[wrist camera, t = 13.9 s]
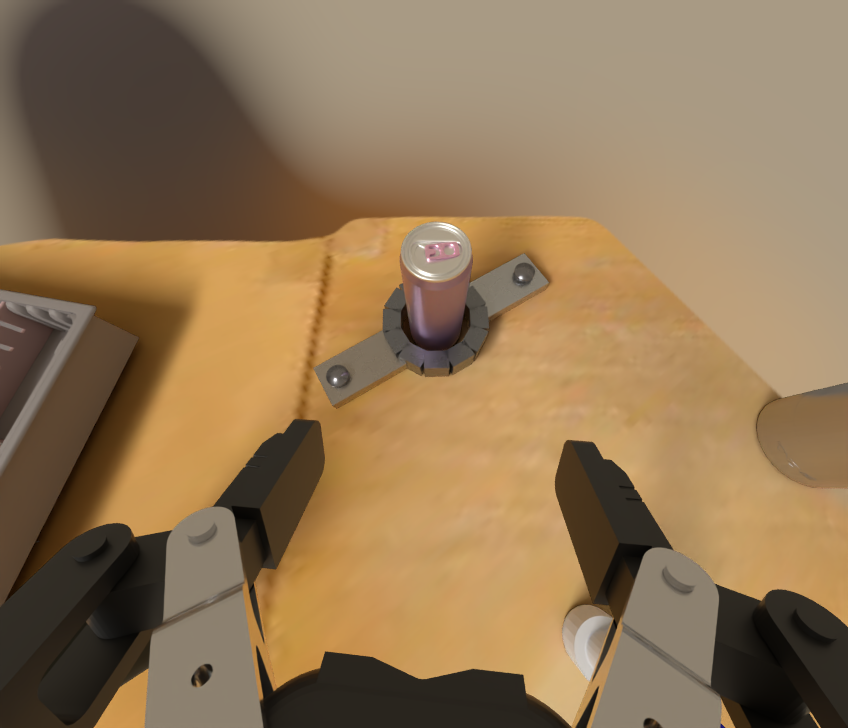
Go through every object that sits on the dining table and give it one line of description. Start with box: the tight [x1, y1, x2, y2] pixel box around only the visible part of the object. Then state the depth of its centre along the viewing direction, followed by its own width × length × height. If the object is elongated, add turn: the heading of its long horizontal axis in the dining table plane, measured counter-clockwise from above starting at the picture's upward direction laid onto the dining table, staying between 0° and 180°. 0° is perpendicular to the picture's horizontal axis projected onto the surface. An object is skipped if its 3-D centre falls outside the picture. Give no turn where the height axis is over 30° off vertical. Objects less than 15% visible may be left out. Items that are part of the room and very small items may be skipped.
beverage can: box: [400, 222, 473, 351], centre depth 34 cm, size 6×6×15 cm
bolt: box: [562, 605, 725, 728], centre depth 23 cm, size 16×5×5 cm
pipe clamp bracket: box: [313, 253, 549, 409], centre depth 39 cm, size 29×12×3 cm, turn 121°
